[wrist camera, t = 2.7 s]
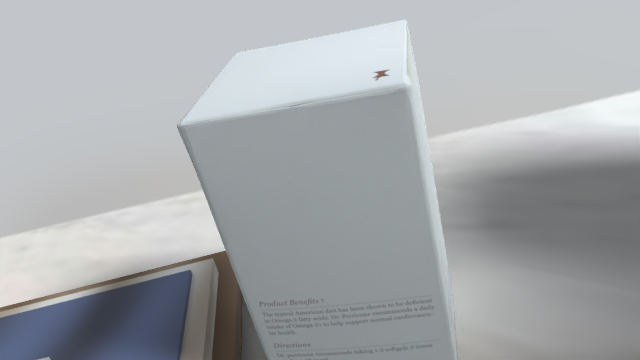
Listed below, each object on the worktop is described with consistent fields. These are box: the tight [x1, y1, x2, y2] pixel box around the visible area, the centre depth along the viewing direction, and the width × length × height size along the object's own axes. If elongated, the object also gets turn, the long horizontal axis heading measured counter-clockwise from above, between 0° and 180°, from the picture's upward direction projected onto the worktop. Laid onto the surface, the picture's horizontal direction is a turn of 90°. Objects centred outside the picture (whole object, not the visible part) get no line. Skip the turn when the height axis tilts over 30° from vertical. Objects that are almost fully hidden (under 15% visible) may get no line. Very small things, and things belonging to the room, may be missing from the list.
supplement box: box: [177, 20, 458, 360], centre depth 23 cm, size 7×7×13 cm
